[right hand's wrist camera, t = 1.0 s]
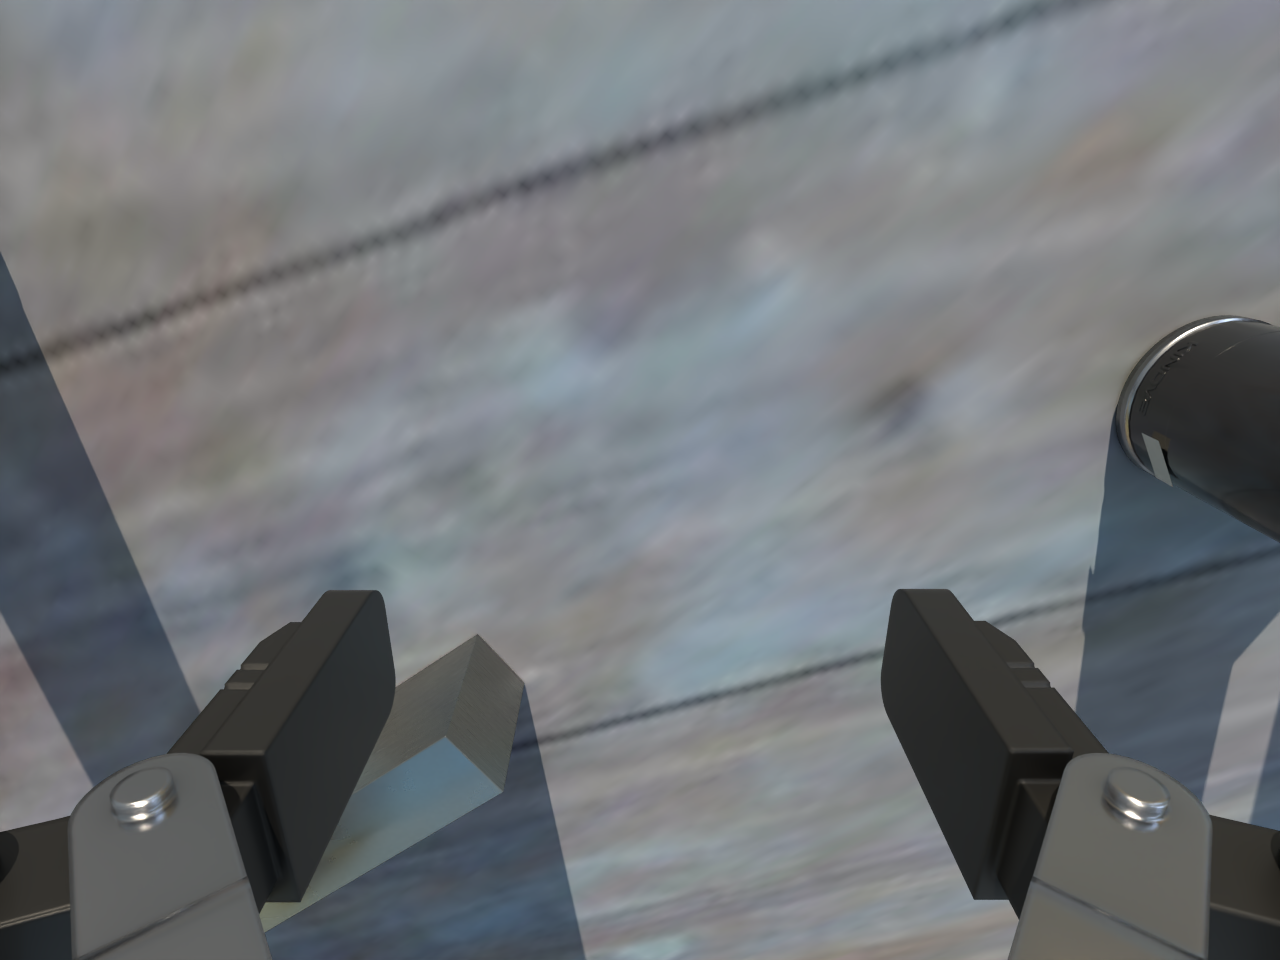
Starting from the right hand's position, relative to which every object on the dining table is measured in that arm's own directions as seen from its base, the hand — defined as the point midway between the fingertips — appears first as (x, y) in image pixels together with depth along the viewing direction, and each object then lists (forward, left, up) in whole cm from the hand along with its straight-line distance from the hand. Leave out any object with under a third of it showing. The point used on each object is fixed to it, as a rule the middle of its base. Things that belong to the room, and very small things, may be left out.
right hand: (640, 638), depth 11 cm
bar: (+4, +33, -29) cm, 44 cm away
